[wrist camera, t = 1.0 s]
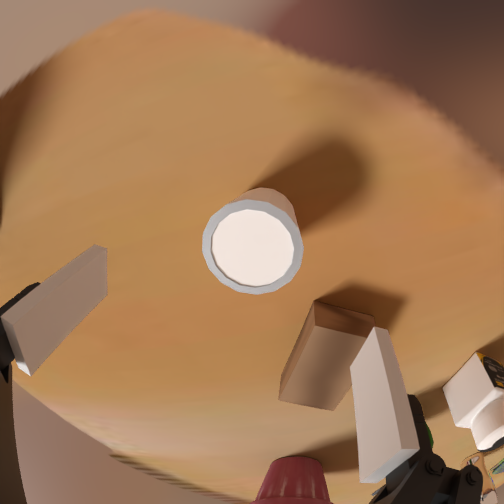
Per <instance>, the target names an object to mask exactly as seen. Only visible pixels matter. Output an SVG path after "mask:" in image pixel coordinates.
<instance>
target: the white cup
mask: <svg viewBox="0 0 504 504" xmlns="http://www.w3.org/2000/svg"><path fill="white" fill-rule="evenodd" d="M303 250H304V247H303V243H302V239H301V235H300V231H299V227H298V223H297V219H296V216H295V212H294V208H293V205H292V204H291V203H290V201H289V200H288V199H287V198H286V196H285V195H283V194H281V193H280V192H278V191H276V190H274V189H270V188H262V187H260V188H256V189H252V190H249V191H247V192H245V193H244V194H242V195H240V196H239V197H237V198H236V199H234V200H233V201H231V202H229V203H228V204H226V205H225V206H224V207H223V208H221V209H220V210H219V211H218V212H216V213H215V214H214V215H213V216H212V217H211V218H210V220H209V222H208V224H207V226H206V228H205V230H204V232H203V247H202V252H203V255H204V257H205V260H206V263H207V265H208V268H209V269H210V271H211V272H212V273H213V274H214V275H215V276H216V277H217V278H218V279H219V281H220V282H221V283H223V284H225V285H227V286H229V287H230V288H232V289H234V290H236V291H238V292H244V293H250V294H256V295H257V294H262V293H268V292H273V291H276V290H277V289H279V288H281V287H282V286H284V285H285V284H287V283H289V282H290V281H291V280H292V278H293V277H294V275H295V274H296V272H297V271H298V269H299V268H300V267H301V261H302V256H303Z"/></svg>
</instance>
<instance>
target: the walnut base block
mask: <svg viewBox="0 0 504 504" xmlns="http://www.w3.org/2000/svg"><path fill="white" fill-rule="evenodd" d="M373 327H376V325H375V321H374V318H373V316H371V315H367V314H363V313H359V312H355V311H351V310H347V309H344V308H340V307H336V306H332V305H328V304H325V303H321V302H317V301H313V304H312V306H311V309H310V311H309V313H308V316H307V318H306V321H305V323H304V325H303V328H302V330H301V332H300V334H299V337H298V339H297V341H296V344H295V346H294V348H293V350H292V353H291V355H290V357H289V359H288V361H287V363H286V366H285V368H284V370H283V372H282V374H281V382H280V390H279V399H278V400H280V401H284V402H289V403H294V404H298V405H303V406H309V407H314V408H319V409H325V410H331V411H334V410H335V408H336V407H337V405H338V404H339V403H340V401H341V400H342V399H343V397H344V396H345V394H346V393H347V391H348V390H349V389H350V387H351V386H352V379H351V371H350V366H351V365H352V363H353V361H354V360H355V358H356V356H357V355H358V353H359V351H360V350H361V348H362V346H363V345H364V343H365V341H366V339H367V338H368V336H369V334H370V332H371V331H372V329H373Z"/></svg>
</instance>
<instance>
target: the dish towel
mask: <svg viewBox="0 0 504 504" xmlns="http://www.w3.org/2000/svg"><path fill="white" fill-rule="evenodd" d="M490 470H494V471H493V472H492V473H493V474H498V473H501V472H504V459H503V460H502V461H500V462H499V463H498V464H497V465H495V466H494V467H493V468H491V469H490Z"/></svg>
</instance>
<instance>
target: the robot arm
mask: <svg viewBox="0 0 504 504" xmlns="http://www.w3.org/2000/svg"><path fill="white" fill-rule="evenodd" d="M106 296H107V248H104V247H101V246H98V245H93V246H92V247H90V248H89V249H88V250H86V251H85V252H83V253H82V254H80V255H79V256H78V257H76V258H75V259H73V260H72V261H71V262H69V263H68V264H66V265H65V266H64V267H62V268H61V269H60V270H58V271H57V272H56V273H54V274H53V275H52V276H50V277H49V278H48V279H46V280H45V281H44V282H42V283H39V282H37V283H34V284H32V285H29V286H27V287H26V288H25V289H23V290H22V291H21V292H20V294H19V293H18V294H17V295H16V296H15V297H14V298H12V299H11V300H9V301H8V302H7V303H6V304H5V305H3V306H2V307H1V308H0V504H27V502H26V497H25V493H24V489H23V484H22V479H21V474H20V469H19V463H18V456H17V449H16V441H15V431H14V419H13V401H12V365H11V362H12V361H13V360H14V358H15V360H16V362H17V365H18V367H19V368H20V369H21V370H22V371H24V372H25V373H27V374H28V375H30V376H32V375H33V374H34V372H35V371H36V370H37V369H38V368H39V367H40V366H41V364H42V363H43V362H44V361H45V360H46V359H47V358H48V357H49V355H50V354H51V353H52V352H53V351H54V350H55V349H56V348H57V347H58V346H59V344H60V343H61V342H62V341H63V340H64V339H65V338H66V337H67V336H68V335H69V334H70V333H71V332H72V331H73V329H74V328H75V327H76V326H77V325H78V324H79V323H80V322H81V321H82V320H83V319H84V318H85V317H86V316H87V315H88V314H89V313H90V312H91V311H92V310H93V309H94V308H95V307H96V306H97V305H98V304H99V303H100V302H101V301H102V300H103V299H104V298H105V297H106ZM350 371H351V379H352V388H353V397H354V407H355V417H356V428H357V441H358V456H359V475H360V483H378V482H379V481H380V480H382V479H383V478H385V477H386V484H385V485H384V486H383V487H381V488H380V489H378V490H377V491H375V492H374V493H373V494H371V495H373V496H374V495H375V497H374V498H373V499H372V500H371V501H370V503H369V504H480V501H481V495H482V488H483V475H482V472H481V471H480V469H479V468H478V467H476V466H475V465H467V466H465V467H464V468H462V469H461V470H460V471H459V470H456V469H452V468H449V467H446V465H445V463H444V461H443V459H442V458H441V457H440V456H438V455H436V454H434V453H433V451H432V447H431V443H430V439H429V435H428V431H427V427H426V424H425V419H424V416H423V412H422V408H421V404H420V403H419V401H418V400H417V398H416V397H415V396H414V395H409V394H407V393H406V389H405V385H404V382H403V378H402V375H401V371H400V368H399V364H398V361H397V358H396V355H395V351H394V348H393V345H392V342H391V339H390V336H389V333H388V330H387V329H382V328H378V327H373V329H372V331H371V332H370V334H369V336H368V338H367V339H366V341H365V343H364V345H363V346H362V348H361V350H360V351H359V353H358V355H357V356H356V358H355V360H354V361H353V363H352V365H351V366H350Z"/></svg>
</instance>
